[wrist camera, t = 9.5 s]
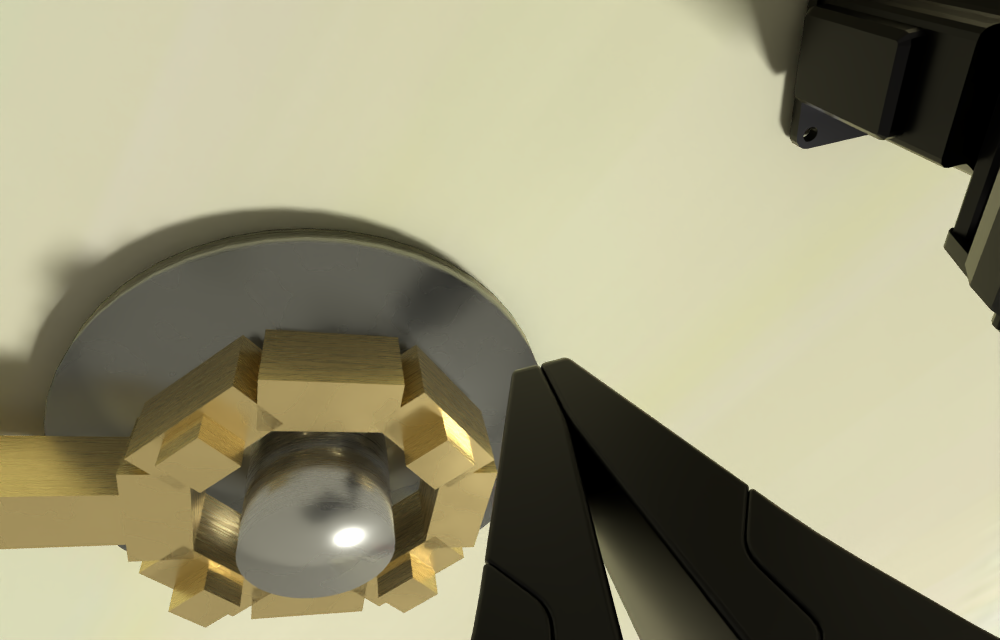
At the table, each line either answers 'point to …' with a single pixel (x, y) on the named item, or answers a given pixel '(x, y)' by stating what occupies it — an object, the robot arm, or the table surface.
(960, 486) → the table surface
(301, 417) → the wooden gear crank
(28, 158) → the table surface
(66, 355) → the cap plate
